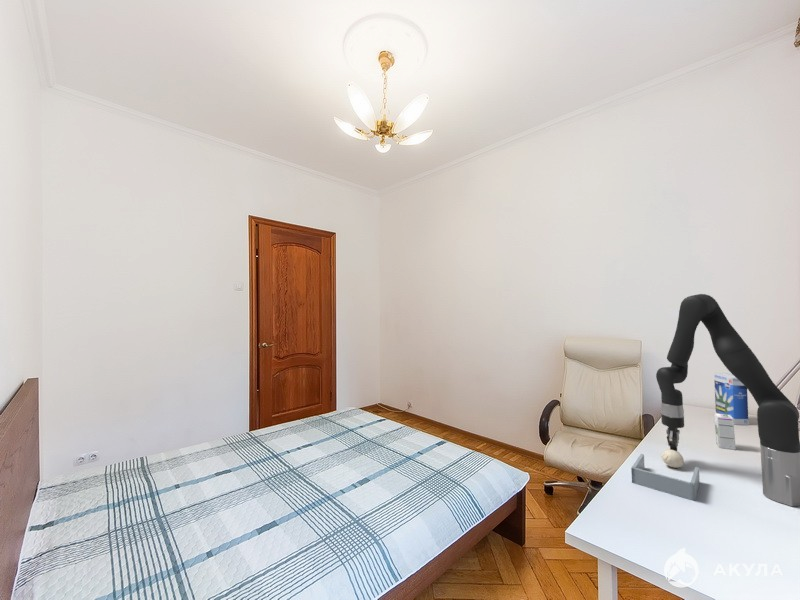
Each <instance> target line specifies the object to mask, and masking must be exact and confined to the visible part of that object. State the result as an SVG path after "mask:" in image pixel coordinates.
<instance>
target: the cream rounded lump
mask: <svg viewBox="0 0 800 600" xmlns="http://www.w3.org/2000/svg"><path fill="white" fill-rule="evenodd" d="M660 457H661V460H662V461H663V462H664V463H665V465H667V466H668V467H671V468H676V469H677V468H680V467H683V465H684V463H685V461H684V456H683V455H682V454H681V453H680V452H679V451H678V450H677V451H675V450H670V449H666V450H664V451H663V452H662V454H661V456H660Z"/></svg>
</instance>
